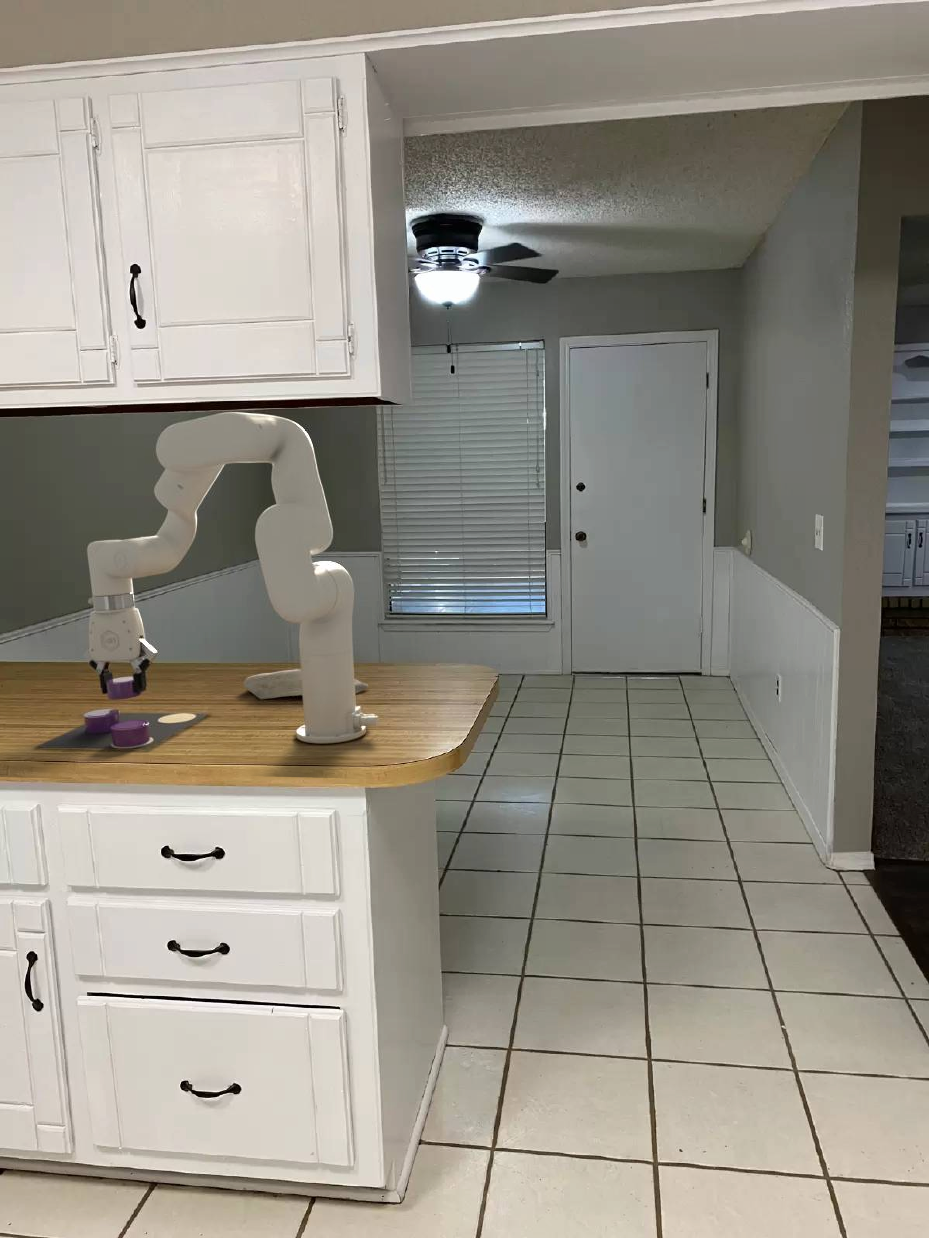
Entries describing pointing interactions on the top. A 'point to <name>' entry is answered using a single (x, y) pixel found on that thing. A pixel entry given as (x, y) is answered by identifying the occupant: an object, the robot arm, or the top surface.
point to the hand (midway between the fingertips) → (124, 691)
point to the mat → (158, 722)
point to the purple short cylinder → (130, 733)
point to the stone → (282, 684)
